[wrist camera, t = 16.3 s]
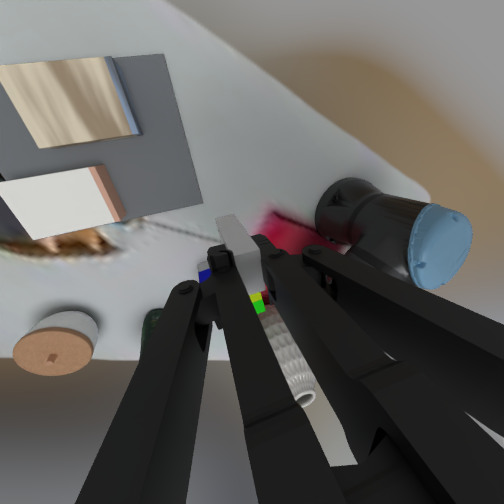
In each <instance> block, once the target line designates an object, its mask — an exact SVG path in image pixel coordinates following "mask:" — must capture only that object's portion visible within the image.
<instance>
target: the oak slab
mask: <svg viewBox="0 0 504 504" xmlns="http://www.w3.org/2000/svg"><path fill="white" fill-rule="evenodd" d="M0 82H1V84H2V85H3V87H4V89H5V91H6V92H7V94H8V96H9V97H10V99H11V101H12V103H13V104H14V106H15V108H16V110H17V111H18V113H19V115H20V116H21V118H22V120H23V122H24V123H25V125H26V127H27V128H28V130H29V132H30V134H31V135H32V137H33V139H34V141H35V142H36V144H37V146H38V147H39V148H62V147H69V146H75V145H82V144H89V143H95V142H102V141H108V140H115V139H121V138H128V137H135V136H141V135H143V132H142V129H141V126H140V123H139V120H138V117H137V115H136V112H135V109H134V106H133V103H132V100H131V98H130V95H129V92H128V89H127V86H126V83H125V80H124V78H123V75H122V72H121V69H120V67H119V66H118V64H117V63H116V62H115V61H114V59H113V58H112V57H111V56H107V57H95V58H83V59H71V60H59V61H48V62H36V63H24V64H12V65H0Z"/></svg>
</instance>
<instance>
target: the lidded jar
mask: <svg viewBox="0 0 504 504" xmlns="http://www.w3.org/2000/svg"><path fill="white" fill-rule="evenodd" d="M97 339H98V328H97V325H96V323H95V322H94V320H93V319H92V318H91V317H90V316H89V315H88V314H86V313H84V312H81V311H65V312H59V313H56V314H53V315H50V316H48V317H46V318H44V319H43V320H41V321H40V322H38V323H37V324H36V325H35V326H33V327H32V328H31V329H30V330H29V331H28V332H27V333H26V335H25V336H24V337H22V338H21V339H20V340H19V341H18V343H17V344H16V345H15V347H14V349H13V357H14V360H15V362H16V363H17V364H18V365H19V366H20V367H22V368H23V369H25V370H27V371H29V372H32V373H35V374H40V375H50V376H55V375H64V374H69V373H72V372H75V371H77V370H79V369H81V368H82V367H84V366H85V365H86V364H87V363H88V362H89V361H90V359H91V357H92V355H93V352H94V349H95V346H96V343H97Z"/></svg>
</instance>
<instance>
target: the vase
mask: <svg viewBox="0 0 504 504" xmlns="http://www.w3.org/2000/svg"><path fill="white" fill-rule="evenodd" d="M264 307H265V310H266V311H264V312H262V313H259V314H257V315H258V317H259V319H260V321H261V324H262V326H263V328H264V331H265V333H266V335H267V337H268V340H269V342H270V344H271V346H272V349H273V351H274V353H275V356H276V358H277V360H278V362H279V365H280V367H281V369H282V371H283V374H284V376H285V378H286V380H287V383H288V385H289V387H290V390H291V392H292V394H293V396H294V398H295V400H296V402H297V403H298V404H299V405H301V407H302V408H303V407H306V406H308V405H309V404H310V403H312V402H313V400H314V399H315V397H316V393H315V390H314V387H315V382H316V378H315V376H314V374H313V373H312V371H311V369H310V367H309V366H308V364H307V362H306V360H305V359H304V357H303V355H302V353H301V351H300V350H299V348H298V346H297V344H296V343H295V341H294V339H293V337H292V336H291V334H290V332H289V330H288V328H287V327H286V325H285V323H284V321H283V320H282V318H281V316H280V314H279V313H278V311H277V309H276V307H275V305H271V306H270V305H264Z"/></svg>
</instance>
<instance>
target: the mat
mask: <svg viewBox="0 0 504 504" xmlns="http://www.w3.org/2000/svg"><path fill="white" fill-rule="evenodd" d="M113 59H114V61H115V62H116V63H117V64H118V66H119V67H120V69H121V72H122V75H123V78H124V80H125V83H126V86H127V89H128V92H129V95H130V98H131V100H132V103H133V106H134V109H135V112H136V115H137V117H138V120H139V123H140V126H141V129H142V132H143V135H141V136H135V137H128V138H121V139H115V140H108V141H102V142H95V143H89V144H82V145H75V146H69V147H62V148H39V147H38V146H37V144H36V142H35V141H34V139H33V137H32V135H31V134H30V132H29V130H28V128H27V127H26V125H25V123H24V122H23V120H22V118H21V116H20V115H19V113H18V111H17V110H16V108H15V106H14V104H13V103H12V101H11V99H10V97H9V96H8V94H7V92H6V91H5V89H4V87H3V85H2V84H1V82H0V173H1V174H2V176H3V177H4V178H5V180H6V181H10V180H16V179H22V178H28V177H34V176H39V175H45V174H51V173H57V172H63V171H69V170H75V169H80V168H86V167H92V166H98V165H105V168H106V170H107V172H108V174H109V176H110V178H111V181H112V183H113V185H114V187H115V189H116V192H117V194H118V196H119V198H120V200H121V202H122V205H123V207H124V209H125V211H126V213H127V214H126V215H125V217H124V218H123V219H122V220H121V221H124V220H129V219H133V218H138V217H142V216H147V215H151V214H156V213H161V212H165V211H170V210H174V209H179V208H183V207H188V206H193V205H197V204H202V203H203V201H202V197H201V193H200V190H199V186H198V182H197V178H196V175H195V171H194V167H193V163H192V160H191V156H190V152H189V148H188V145H187V141H186V137H185V133H184V129H183V126H182V122H181V118H180V114H179V111H178V107H177V103H176V99H175V96H174V92H173V88H172V84H171V81H170V77H169V73H168V69H167V66H166V62H165V58H164V54H154V55H142V56H131V57H119V58H113ZM118 222H120V221H118ZM113 223H115V222H113ZM109 224H110V223H109ZM104 225H106V224H104ZM100 226H101V225H100ZM95 227H97V226H95ZM91 228H92V227H91ZM86 229H88V228H86ZM81 230H83V229H81ZM77 231H78V230H77ZM72 232H74V231H72ZM68 233H69V232H68ZM63 234H65V233H63ZM59 235H60V234H59ZM54 236H56V235H54ZM49 237H51V236H49Z"/></svg>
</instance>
